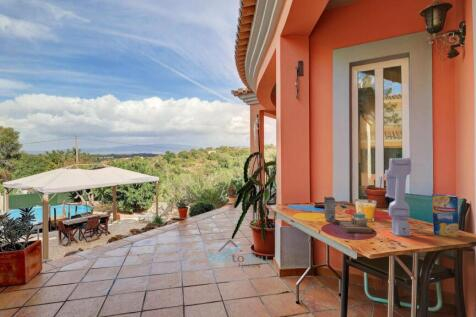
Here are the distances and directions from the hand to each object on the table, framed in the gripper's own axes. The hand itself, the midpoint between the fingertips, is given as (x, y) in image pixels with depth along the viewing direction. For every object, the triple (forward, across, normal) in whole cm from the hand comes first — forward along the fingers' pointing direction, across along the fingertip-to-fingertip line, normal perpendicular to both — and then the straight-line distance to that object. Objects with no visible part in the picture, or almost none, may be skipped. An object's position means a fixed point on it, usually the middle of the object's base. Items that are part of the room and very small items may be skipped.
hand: (392, 209), depth 164 cm
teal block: (+4, -7, +22) cm, 24 cm away
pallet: (+8, -8, +23) cm, 25 cm away
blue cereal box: (+11, -18, -20) cm, 29 cm away
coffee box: (+11, +14, +36) cm, 40 cm away
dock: (+10, -8, +26) cm, 29 cm away
